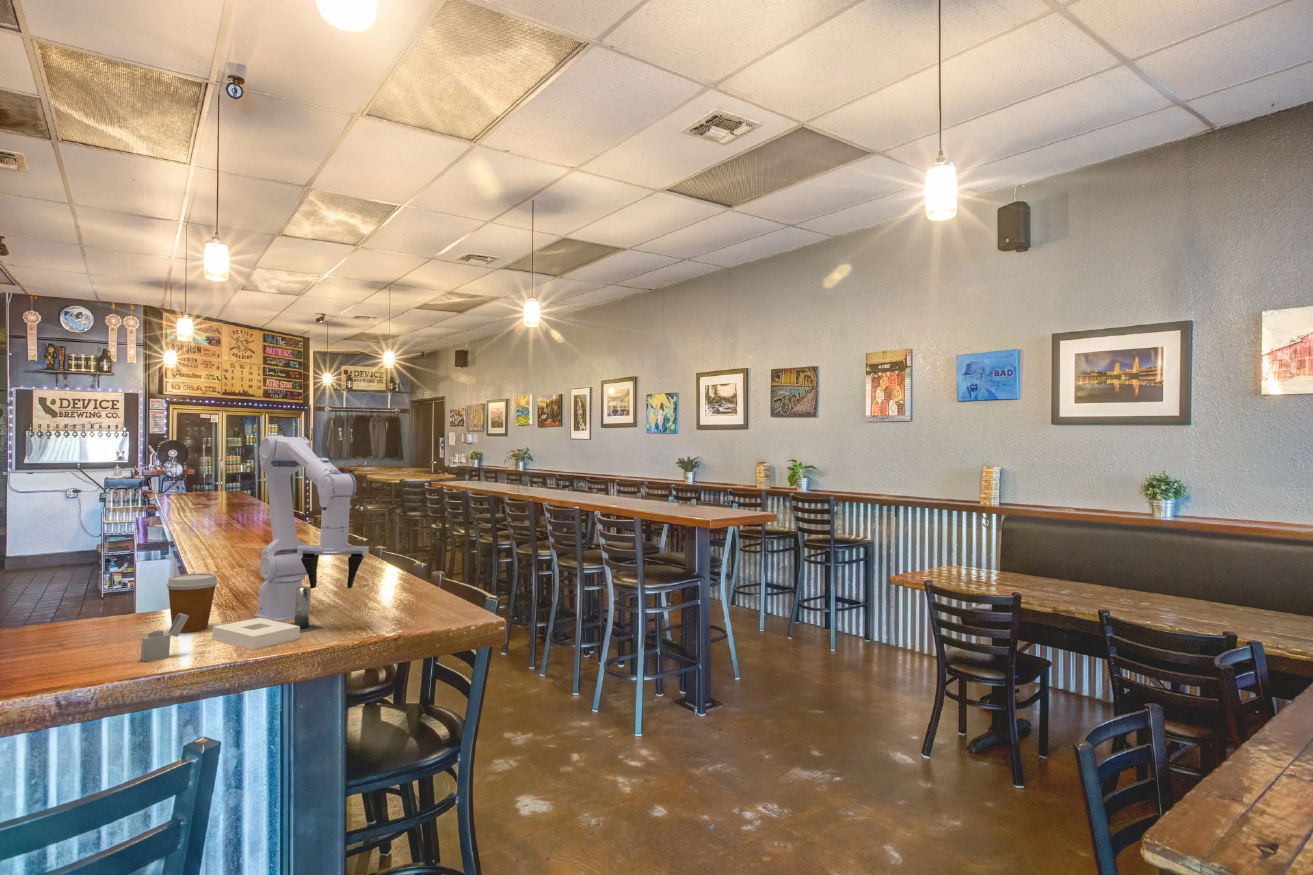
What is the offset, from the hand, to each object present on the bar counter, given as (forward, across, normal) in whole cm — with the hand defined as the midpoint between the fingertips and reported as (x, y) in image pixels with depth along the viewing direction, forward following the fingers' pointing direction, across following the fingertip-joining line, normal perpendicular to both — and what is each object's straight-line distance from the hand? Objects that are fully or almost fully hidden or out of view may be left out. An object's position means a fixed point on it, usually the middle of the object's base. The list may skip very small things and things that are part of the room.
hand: (331, 587), depth 152 cm
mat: (+10, -8, +2) cm, 13 cm away
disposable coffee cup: (+10, -29, +3) cm, 31 cm away
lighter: (+10, -25, -17) cm, 32 cm away
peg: (+10, -6, +2) cm, 12 cm away
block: (+10, -13, -7) cm, 17 cm away
